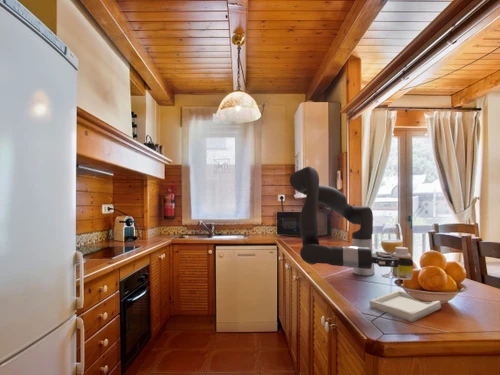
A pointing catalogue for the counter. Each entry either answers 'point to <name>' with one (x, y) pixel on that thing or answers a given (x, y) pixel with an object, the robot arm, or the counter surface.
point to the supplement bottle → (402, 271)
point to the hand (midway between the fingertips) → (410, 260)
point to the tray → (404, 305)
